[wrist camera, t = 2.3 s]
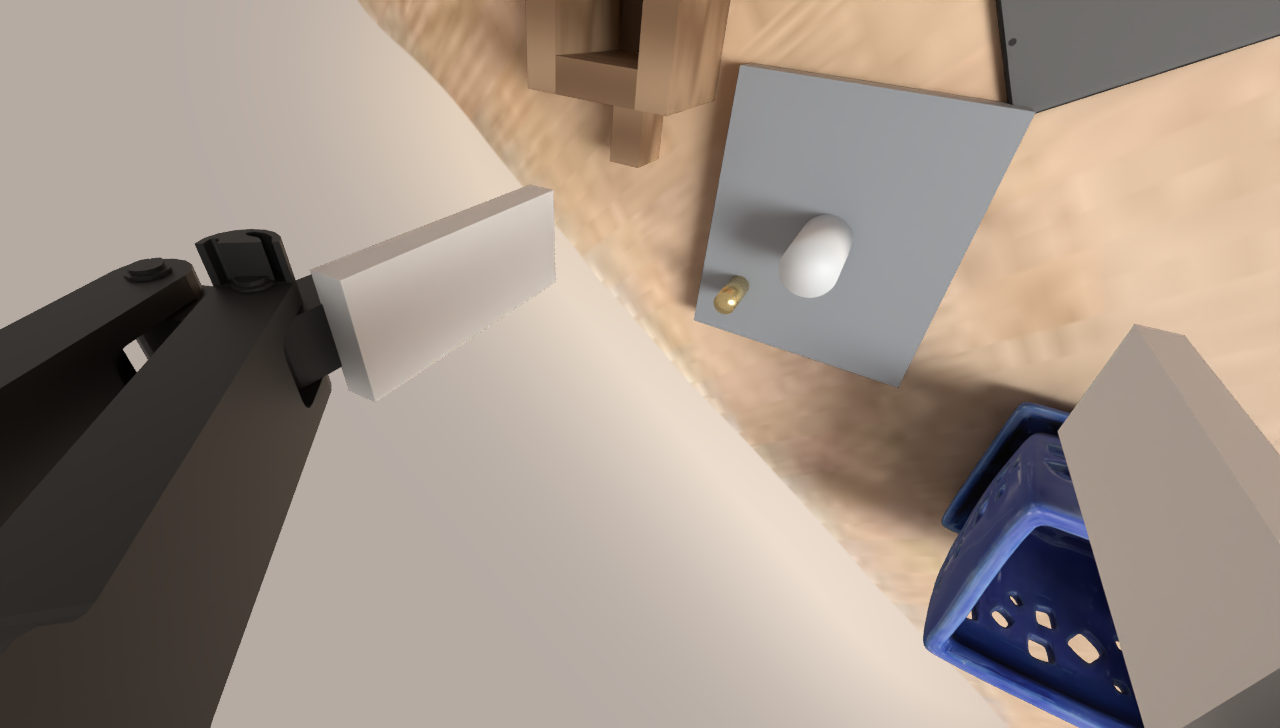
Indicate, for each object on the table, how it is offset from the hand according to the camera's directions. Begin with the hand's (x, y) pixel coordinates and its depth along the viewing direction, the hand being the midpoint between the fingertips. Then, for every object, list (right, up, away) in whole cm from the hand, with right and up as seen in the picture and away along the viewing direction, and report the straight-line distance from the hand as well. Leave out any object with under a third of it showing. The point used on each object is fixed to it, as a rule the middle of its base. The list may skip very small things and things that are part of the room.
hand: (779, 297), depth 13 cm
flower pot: (+24, -9, +21) cm, 33 cm away
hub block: (-2, +17, +18) cm, 26 cm away
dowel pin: (+3, +4, +22) cm, 22 cm away
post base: (+8, +7, +19) cm, 22 cm away
